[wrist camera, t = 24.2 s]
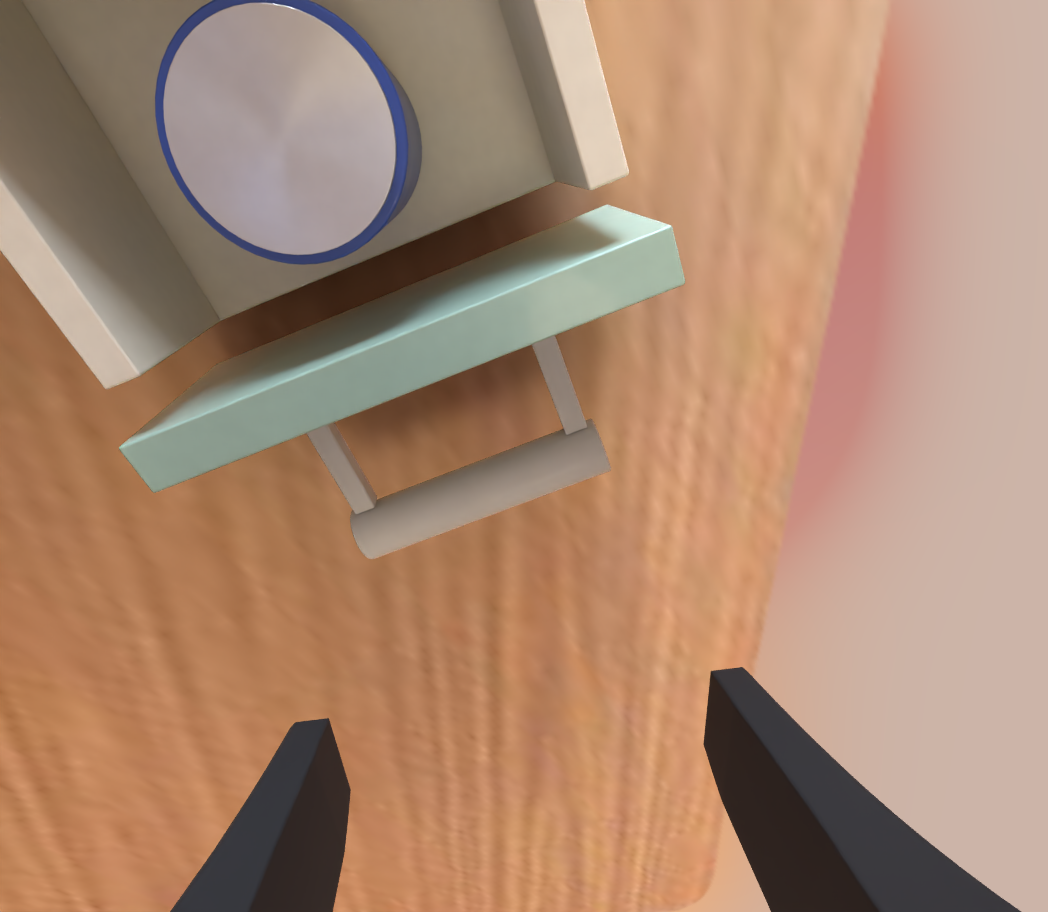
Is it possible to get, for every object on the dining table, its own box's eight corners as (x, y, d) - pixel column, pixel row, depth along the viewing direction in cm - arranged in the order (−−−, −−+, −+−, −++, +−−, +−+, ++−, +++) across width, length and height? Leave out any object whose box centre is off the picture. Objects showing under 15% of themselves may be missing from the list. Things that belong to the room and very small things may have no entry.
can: (430, 58, 14) (418, 18, 10) (414, 249, 16) (398, 282, 12) (235, 18, 13) (136, -43, 9) (242, 222, 15) (161, 247, 11)
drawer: (661, 393, 19) (733, 477, 14) (318, 524, 20) (271, 646, 15) (418, -464, 11) (384, -977, 6) (-138, -180, 12) (-566, -421, 7)
